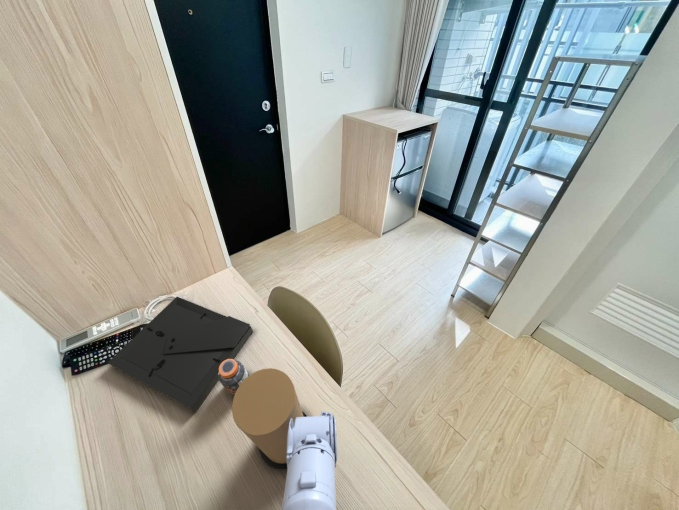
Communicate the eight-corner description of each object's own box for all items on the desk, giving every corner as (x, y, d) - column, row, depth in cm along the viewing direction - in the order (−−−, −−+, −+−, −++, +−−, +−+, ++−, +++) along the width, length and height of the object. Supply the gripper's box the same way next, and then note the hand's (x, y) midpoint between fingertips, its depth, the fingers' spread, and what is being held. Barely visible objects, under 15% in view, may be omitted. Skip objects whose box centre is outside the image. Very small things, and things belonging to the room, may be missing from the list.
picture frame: (253, 331, 80) (180, 302, 88) (250, 324, 77) (175, 294, 85) (195, 412, 65) (114, 367, 72) (189, 407, 62) (104, 360, 70)
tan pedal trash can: (331, 474, 55) (328, 449, 39) (255, 458, 57) (220, 429, 40) (339, 419, 62) (339, 378, 46) (271, 407, 64) (247, 363, 48)
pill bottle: (223, 392, 68) (207, 373, 60) (237, 370, 72) (225, 350, 64) (242, 401, 66) (229, 384, 58) (256, 378, 70) (246, 359, 62)
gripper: (304, 400, 48) (310, 421, 58) (278, 510, 38) (290, 514, 48) (342, 407, 47) (342, 427, 57) (327, 521, 37) (330, 523, 47)
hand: (321, 467), depth 52 cm, fingers closed
